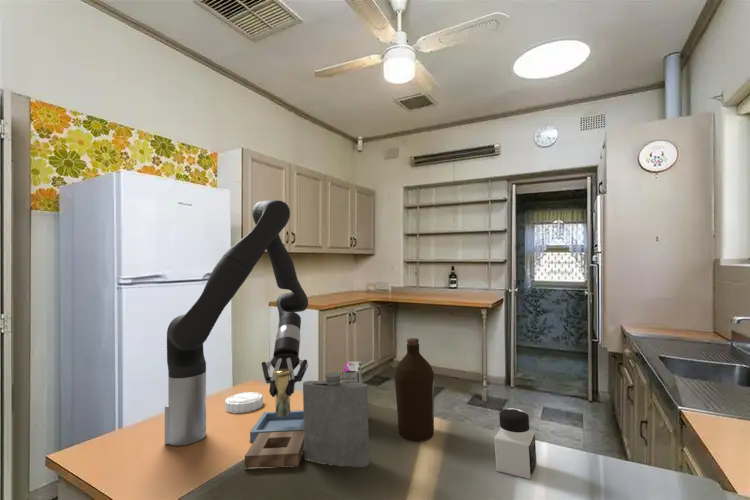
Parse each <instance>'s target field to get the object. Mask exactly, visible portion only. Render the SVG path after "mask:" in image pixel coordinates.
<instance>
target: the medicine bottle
mask: <svg viewBox="0 0 750 500" xmlns="http://www.w3.org/2000/svg"><path fill="white" fill-rule="evenodd" d="M498 417H499V430H498V432H497V433H496V435H495V436H494V451H495V470H496V472H500V473H503V474H508V475H512V476H515V477H519V478H523V479H527V480H532V478H533V475H534V472H535V469H536V466H537V465H538V464H537V463H538V462H537V449H536V432H535V431H534V430H530V417H529V414H528V413H527V412H526V411H524V410H522V409H518V408H512V407H509V408H508V407H507V408H504V409H502V410H500V411H499V416H498Z"/></svg>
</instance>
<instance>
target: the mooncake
mask: <svg viewBox="0 0 750 500" xmlns="http://www.w3.org/2000/svg"><path fill="white" fill-rule="evenodd" d="M224 402H225V403H224V411H225V410H227V411H226V412H227V413H230V412H231V413H230V414H245V413H250V412H254V411H256V410H258V409H259V410H260V408H262V407H263V405H264V396H263V394H262V393H260V392H257V391H255V392H252V391H250V392H249V391H245V392H239V393H236V394H232V395H231V396H228V397H227V398H226V399H225V400H224ZM234 412H235V413H234ZM244 412H245V413H244Z"/></svg>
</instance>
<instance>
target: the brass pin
mask: <svg viewBox="0 0 750 500" xmlns="http://www.w3.org/2000/svg"><path fill="white" fill-rule="evenodd" d="M290 373H291V369H287V368H284V369H277V370H274V369H273V372H272V375H275V397H274V401H275V412H276V416H279V417H282V416H287V415H289V414H290V411H291V396H289V395H288V386H289V381H290V375H289V374H290Z"/></svg>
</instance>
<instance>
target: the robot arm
mask: <svg viewBox="0 0 750 500" xmlns="http://www.w3.org/2000/svg"><path fill="white" fill-rule="evenodd" d="M251 214H252V219H253V221H254V224H255V226H254V227H253V228H252V229H251V231H249V232H248V234H246V235H245V236H244V237H243V238H241V239H240V240H238V241H237V242H236V243H235V244H233V245H232V246H231V247H230V248H229V249H228V250H227V251H226V252H225V253H224V254H223V256H222V257H221V258H220V259H219V261H218V262H217V263H216V265H215V266H214V267H213V269H212V270H211V273H210V275H209V277H208V279H207V282H206V283H205V285H204V289H203V291H202V293H201V294H200V296H199V298H197V300H196V302H194V304H193V305H192V306H191V307H190V309H189V310H187V312H186V313H185V314H180V315H178V316H176V317H174V318H173V319H172V320H171V321H170V323H169V325H168V327H167V331H166V363H167V370H168V374H167V375H168V378H167V379H168V383H167V384H168V386H167V387H168V389H167V390H168V393H167V395H168V397H167V398H168V399H167V403H168V404H166V405H165V407H164V444H166V445H170V446H177V447H178V446H186V445H190V444H194V443H197V442H199V441H201V440H202V439H204V438H205V437H206V435H207V363H206V362H207V361H206V359H205V354H204V343H205V342H206V341H207V339H208V338H209V335H210V334H211V332H212V330H213V329H214V327H215V325H216V323H217V321H218V320H219V318H220V316H221V315H222V312H223V311H224V310H225V308H226V306H228V304H229V303H230V301H231V300H232V298H233V297H234V296H235V295H236V293H237V292H238V291H239V289H240V288H241V287H242V286H243V285H244V283H245V281H246V279H247V278H248V277H249V275H250V274H251V272H252V271H253V269H254V267H255V266H256V265H257V263H258V262H259V261H260V259H261V258H262V256H263V254H264V253H265V252H267V255H268V258H269V260H270V263H271V267H272V270H273V274H274V278H275V282H276V285H277V287H278V288H279V290H281V289H282V290H288V291H291V292H287V293H282V294H280V295H279V296H278V298H277V299H276V306H277V307H276V308H277V310H278V311H277V312H278V319H279V320H278V321H279V322H278V328H277V333H276V335H275V340H274V341H275V342H274V349H273V354H272V355H273V356H272V358H271V360H270V361H268V362H267V361H262V362H261V367H262V372H263V377H264V380H265V384H269V390H268V391H269V395H270V396H271V397H272V398H275V375H273V374H272V375H271V376H270V374H269V373H270V372H269V370H270V369H271V367H272V368H273V371H274V370H277V369H284V368H287V369H291V373H290V374H289V380H290V381H289V386H288V395H289V396H290V397H292V395H293V394H294V393H295V386H296V385H295V384H296V383H297V382H298V383H299V382H302V380H303V377H304V375H305V373H306V371H307V369H308V367H309V364H308V360H307V359H304V360H302V359H300V357H299V356H300V355H299V354H300V345H301V326H302V325H301V324H302V317H301V315H300V314H298V313H300V312H304V311H306V310H307V308H308V306H309V299H308V296H307V294H306V292H305V290H304V289H303V287H302V285H301V283H300V281H299V279H298V276H297V272H296V267H295V264H294V261H293V259H292V257H291V255H290V254H289V252H288V249H287V248H286V246H285V244H284V243H283V241H282V239H281V237H280V232H282V230H283V229H284V228H285V227H286V226H287V224H288V222H290V221H289V220H290V218H291V209H290V207H289V205H288V204H287V203H286V202H285V201H283V200H279V199H267V200H259V201H258V202H256V203H255V205H254V206H253V208H252V213H251ZM298 366H299V370H298V372H297V373H296V374H295V373H294V370H295V369H297V367H298Z"/></svg>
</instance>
